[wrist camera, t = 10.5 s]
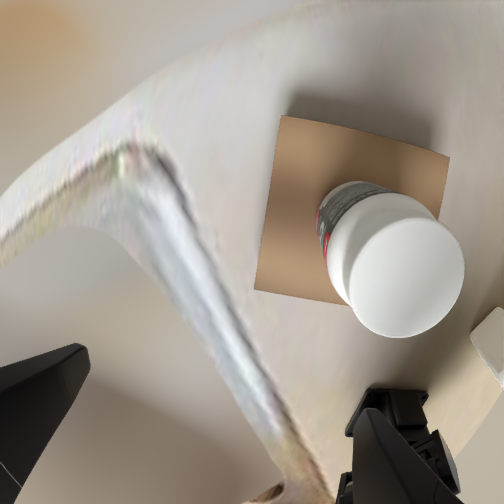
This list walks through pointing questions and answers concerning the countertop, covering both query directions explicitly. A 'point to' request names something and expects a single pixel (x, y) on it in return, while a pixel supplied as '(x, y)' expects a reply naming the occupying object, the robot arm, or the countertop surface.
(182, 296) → the countertop surface
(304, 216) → the brown square block
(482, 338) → the pepper shaker
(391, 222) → the pill bottle
